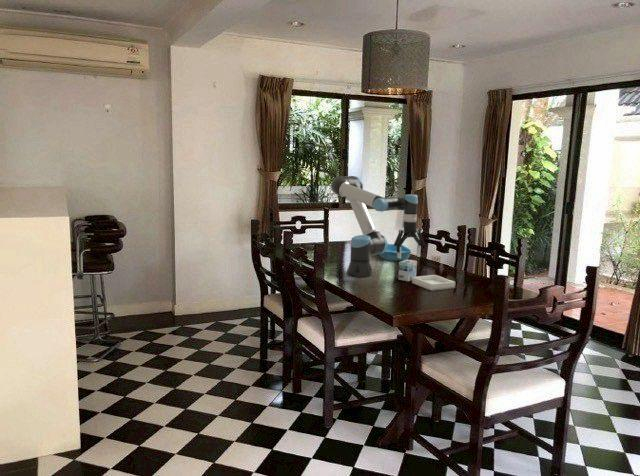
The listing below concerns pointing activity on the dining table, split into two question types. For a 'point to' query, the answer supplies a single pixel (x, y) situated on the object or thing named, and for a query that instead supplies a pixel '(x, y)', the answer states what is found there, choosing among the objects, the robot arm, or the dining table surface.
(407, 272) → the light bulb box
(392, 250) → the casserole dish
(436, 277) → the tray
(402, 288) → the dining table surface
